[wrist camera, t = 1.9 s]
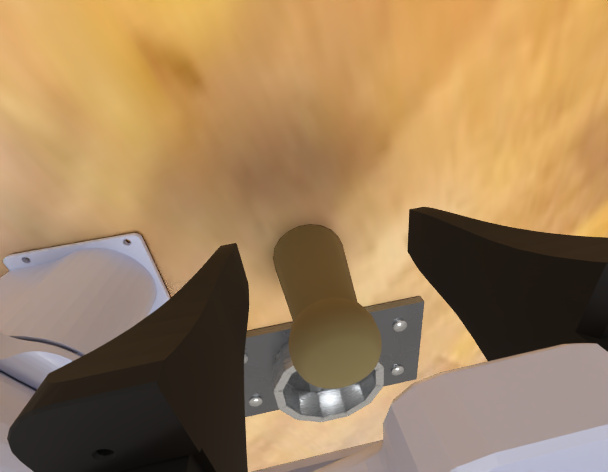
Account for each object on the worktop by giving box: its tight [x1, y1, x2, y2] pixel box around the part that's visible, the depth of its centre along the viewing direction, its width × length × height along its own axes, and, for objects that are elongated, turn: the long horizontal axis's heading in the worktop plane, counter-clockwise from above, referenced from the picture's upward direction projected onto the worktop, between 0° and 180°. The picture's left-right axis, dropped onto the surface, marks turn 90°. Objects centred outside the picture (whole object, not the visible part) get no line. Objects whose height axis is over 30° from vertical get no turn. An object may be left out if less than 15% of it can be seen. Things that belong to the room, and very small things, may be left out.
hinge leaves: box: [244, 296, 424, 422], centre depth 29 cm, size 21×12×4 cm, turn 97°
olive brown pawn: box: [273, 224, 382, 389], centre depth 19 cm, size 6×6×11 cm
